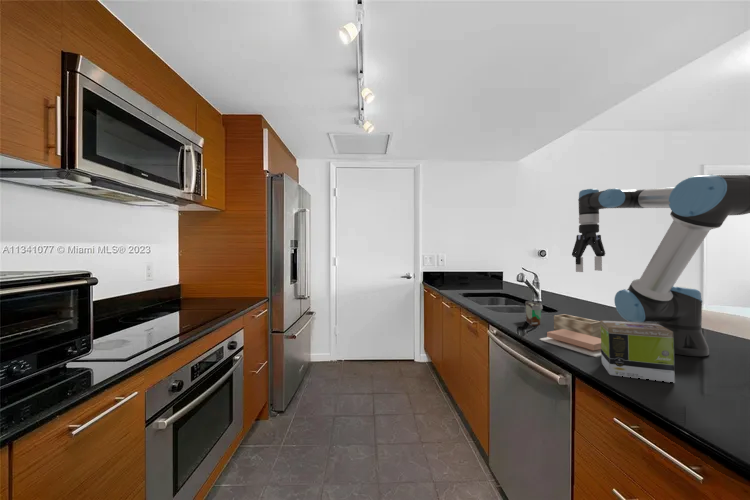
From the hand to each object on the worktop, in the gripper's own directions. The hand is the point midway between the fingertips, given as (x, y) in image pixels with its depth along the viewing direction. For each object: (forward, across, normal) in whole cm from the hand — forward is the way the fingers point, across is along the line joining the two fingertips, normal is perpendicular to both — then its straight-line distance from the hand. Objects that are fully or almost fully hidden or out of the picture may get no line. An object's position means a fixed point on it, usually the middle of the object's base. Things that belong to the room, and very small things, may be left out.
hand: (589, 271), depth 139 cm
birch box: (+27, +12, +2) cm, 29 cm away
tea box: (+27, +36, +35) cm, 57 cm away
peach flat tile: (+26, +25, +11) cm, 38 cm away
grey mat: (+27, +25, +11) cm, 38 cm away
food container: (+27, +10, -19) cm, 35 cm away
